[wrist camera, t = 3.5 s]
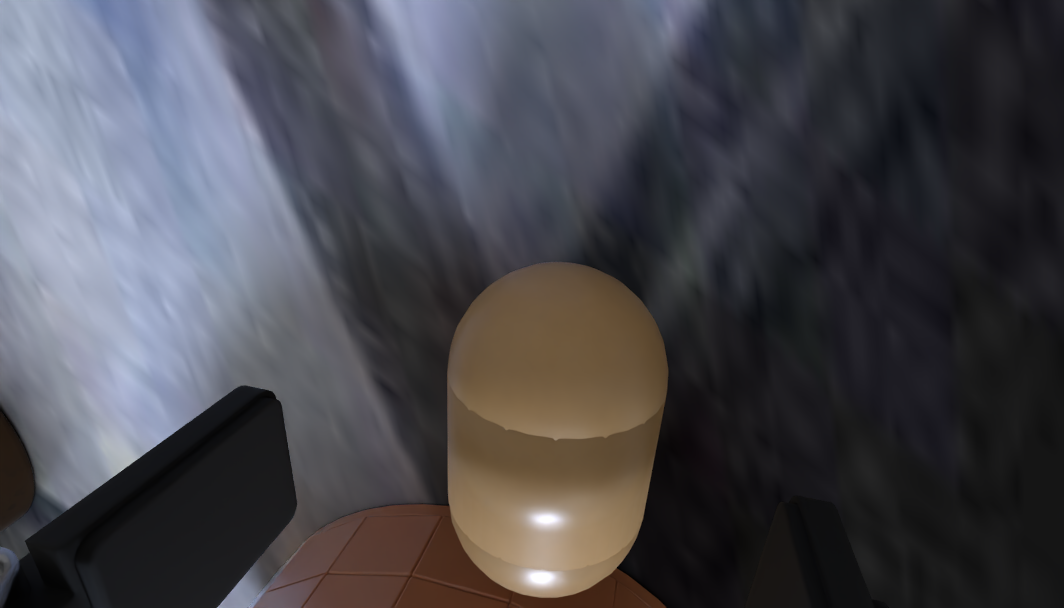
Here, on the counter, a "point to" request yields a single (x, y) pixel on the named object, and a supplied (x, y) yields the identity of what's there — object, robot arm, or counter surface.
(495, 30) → the counter surface
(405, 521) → the terracotta dish
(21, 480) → the olive oil
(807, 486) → the counter surface
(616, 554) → the potato
